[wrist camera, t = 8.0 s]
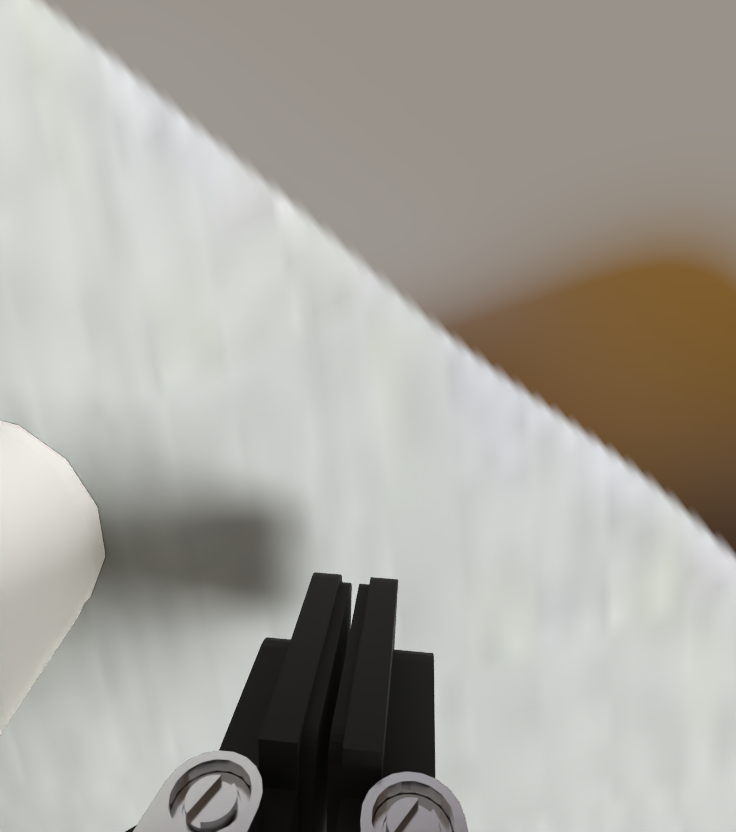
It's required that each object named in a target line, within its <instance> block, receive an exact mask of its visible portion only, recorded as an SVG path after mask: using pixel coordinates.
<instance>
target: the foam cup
mask: <svg viewBox="0 0 736 832" xmlns="http://www.w3.org/2000/svg"><path fill="white" fill-rule="evenodd" d="M104 559H105V550H104V543H103V537H102V531H101V525H100V519H99V513H98V507H97V506H96V504H95V502H94V501H93V499H92V498H91V496H90V495H89V493H88V492H87V490H86V489H85V487H84V486H83V484H82V483H81V481H80V480H79V478H78V477H77V475H76V474H75V472H74V471H73V469H72V467H71V466H70V464H69V463H68V461H67V460H66V459H65V458H63V457H62V456H60V455H59V454H58V453H56V452H55V451H54V450H52V449H51V448H49V447H48V446H47V445H45V444H44V443H42V442H41V441H40V440H38V439H37V438H35V437H34V436H33V435H31V434H30V433H28V432H27V431H26V430H24V429H23V428H21V427H20V426H19V425H16V424H12V423H7V422H3V421H0V734H1V733H2V731H3V730H4V728H5V727H6V725H7V724H8V722H9V721H10V719H11V718H12V716H13V715H14V713H15V712H16V710H17V709H18V707H19V706H20V704H21V703H22V701H23V700H24V698H25V697H26V695H27V694H28V692H29V691H30V689H31V687H32V686H33V684H34V683H35V681H36V680H37V678H38V677H39V675H40V674H41V672H42V671H43V669H44V668H45V666H46V665H47V663H48V662H49V660H50V659H51V657H52V656H53V654H54V653H55V651H56V650H57V648H58V647H59V645H60V644H61V642H62V640H63V639H64V637H65V636H66V634H67V633H68V631H69V630H70V628H71V627H72V625H73V624H74V622H75V621H76V619H77V618H78V616H79V615H80V613H81V610H82V607H83V605H84V603H85V602H86V601H87V600H88V599H89V598H90V597H91V595H92V592H93V589H94V586H95V584H96V581H97V578H98V575H99V573H100V570H101V567H102V564H103V562H104Z"/></svg>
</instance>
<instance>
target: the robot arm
mask: <svg viewBox="0 0 736 832" xmlns="http://www.w3.org/2000/svg"><path fill="white" fill-rule="evenodd" d="M397 590H398V580H396V579H385V578H373V577H371V579H370V584H369V585H366V584H359V588H358V593H357V599H356V604H355V609H354V614H353V619H352V624H351V591H352V586H351V583H343V582H342V576H341V575H338V574H326V573H313V576H312V579H311V582H310V585H309V588H308V591H307V594H306V597H305V600H304V603H303V606H302V609H301V612H300V615H299V618H298V621H297V624H296V627H295V630H294V633H293V636H292V639H291V640H288V639H277V638H266V639H264V641H263V643H262V645H261V647H260V650H259V652H258V655H257V657H256V660H255V662H254V665H253V667H252V670H251V672H250V675H249V677H248V680H247V682H246V685H245V687H244V690H243V692H242V695H241V697H240V700H239V702H238V705H237V707H236V710H235V712H234V715H233V717H232V720H231V722H230V724H229V727H228V729H227V732H226V734H225V737H224V739H223V742H222V744H221V747H220V749H219V751H213V752H207V753H203V754H201V755H198V756H196V757H193V758H191V759H189V760H188V761H186V762H185V763H183V764H182V765H181V766H179V767H178V768H177V769H175V771H174V772H173V773H172V774H171V775H170V777H169V778H168V779H167V780H166V781H165V783H164V784H163V786H162V787H161V789H160V790H159V792H158V793H157V795H156V796H155V798H154V800H153V801H152V803H151V804H150V806H149V807H148V809H147V810H146V812H145V813H144V815H143V816H142V818H141V820H140V821H139V823H138V824H137V825H136V826H134V827H133V828H131V829H129V830H128V831H126V832H326V831H327V832H468V828H467V823H466V818H465V815H464V813H463V810H462V807H461V805H460V802H459V801H458V799H457V798H456V797H455V795H454V794H453V793H452V791H451V790H450V789H449V788H448V787H446V786H445V785H444V784H442V783H441V782H440V781H438V780H437V779H435V722H434V656H433V653H424V652H413V651H403V650H394V643H395V625H396V608H397ZM350 626H351V629H350Z"/></svg>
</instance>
